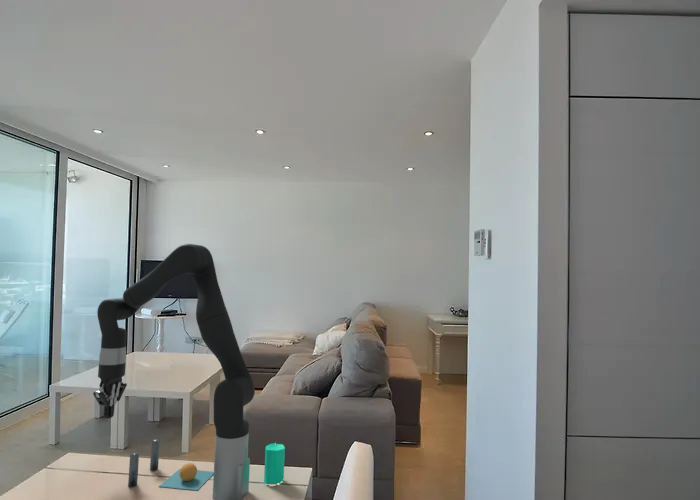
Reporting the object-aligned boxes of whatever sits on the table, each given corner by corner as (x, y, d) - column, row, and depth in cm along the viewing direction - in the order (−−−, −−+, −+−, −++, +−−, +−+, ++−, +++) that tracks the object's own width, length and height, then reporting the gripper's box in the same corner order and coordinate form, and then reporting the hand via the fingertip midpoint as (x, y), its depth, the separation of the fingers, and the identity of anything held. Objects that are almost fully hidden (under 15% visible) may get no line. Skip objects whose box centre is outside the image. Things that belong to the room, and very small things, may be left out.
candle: (279, 487, 128) (281, 446, 129) (260, 485, 129) (262, 444, 130) (286, 478, 134) (288, 439, 134) (268, 476, 135) (270, 437, 136)
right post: (159, 467, 138) (161, 439, 139) (155, 471, 136) (157, 442, 137) (152, 467, 139) (154, 438, 139) (148, 470, 136) (150, 441, 137)
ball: (203, 469, 133) (193, 456, 133) (195, 477, 128) (185, 463, 128) (191, 480, 133) (181, 467, 134) (183, 488, 128) (173, 474, 129)
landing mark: (215, 472, 136) (215, 471, 136) (197, 490, 124) (197, 490, 124) (180, 469, 138) (180, 468, 138) (158, 486, 126) (158, 486, 126)
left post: (138, 483, 128) (140, 452, 128) (133, 487, 125) (135, 455, 126) (131, 482, 128) (133, 451, 129) (126, 486, 126) (128, 455, 126)
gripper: (109, 366, 129) (105, 425, 128) (136, 358, 142) (133, 411, 141) (86, 364, 130) (82, 423, 129) (115, 357, 143) (112, 410, 142)
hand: (108, 417), depth 135 cm, fingers closed
